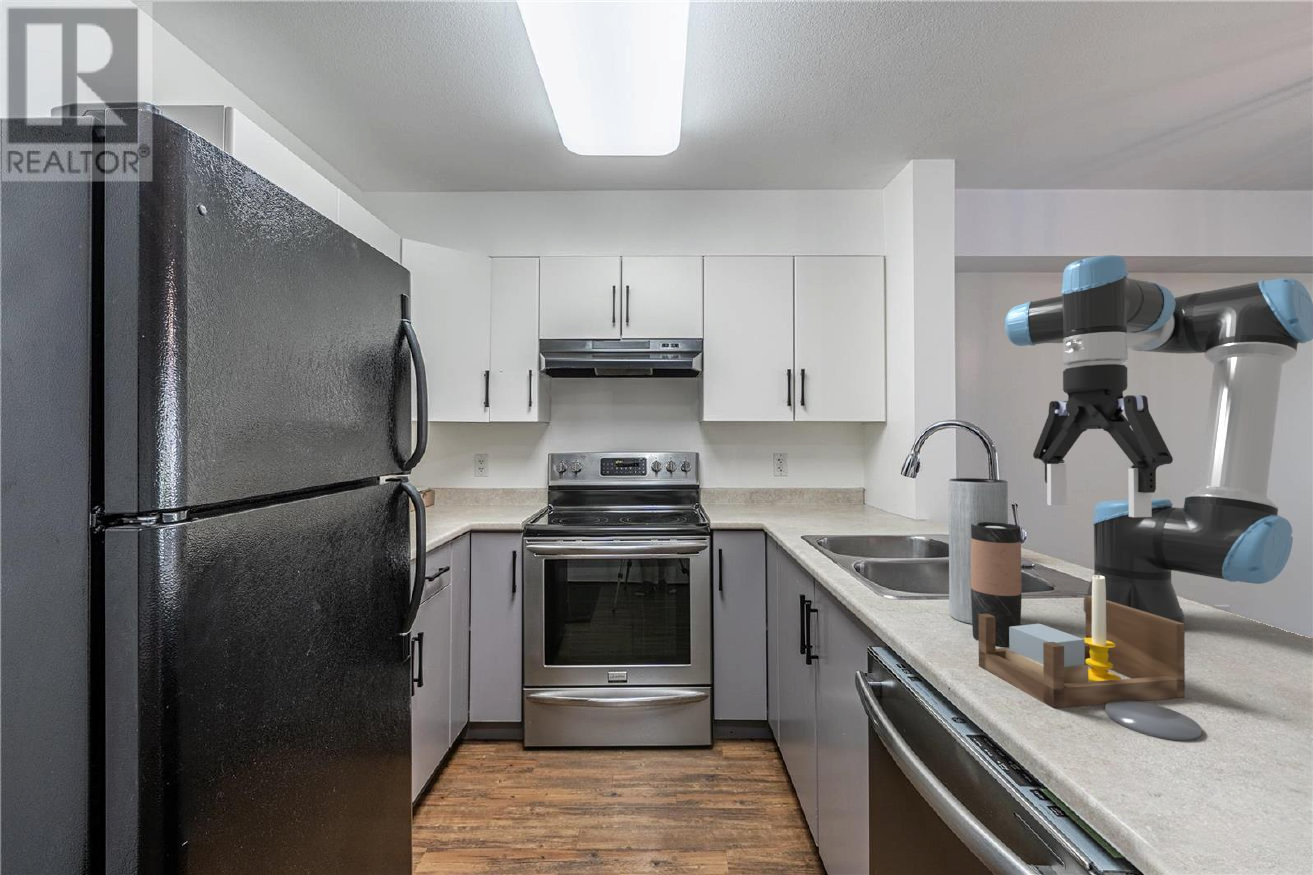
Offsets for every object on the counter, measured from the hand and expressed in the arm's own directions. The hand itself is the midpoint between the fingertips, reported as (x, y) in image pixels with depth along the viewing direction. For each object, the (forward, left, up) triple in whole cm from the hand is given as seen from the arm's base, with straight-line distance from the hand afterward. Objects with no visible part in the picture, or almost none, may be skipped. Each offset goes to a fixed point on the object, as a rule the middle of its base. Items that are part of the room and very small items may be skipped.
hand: (1095, 510), depth 84 cm
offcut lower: (+9, 0, -25) cm, 26 cm away
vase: (-2, -28, -25) cm, 37 cm away
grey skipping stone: (+5, +12, -25) cm, 28 cm away
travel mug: (+3, -17, -25) cm, 30 cm away
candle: (0, 0, -25) cm, 25 cm away
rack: (+4, 0, -25) cm, 25 cm away
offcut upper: (+9, 0, -21) cm, 23 cm away
